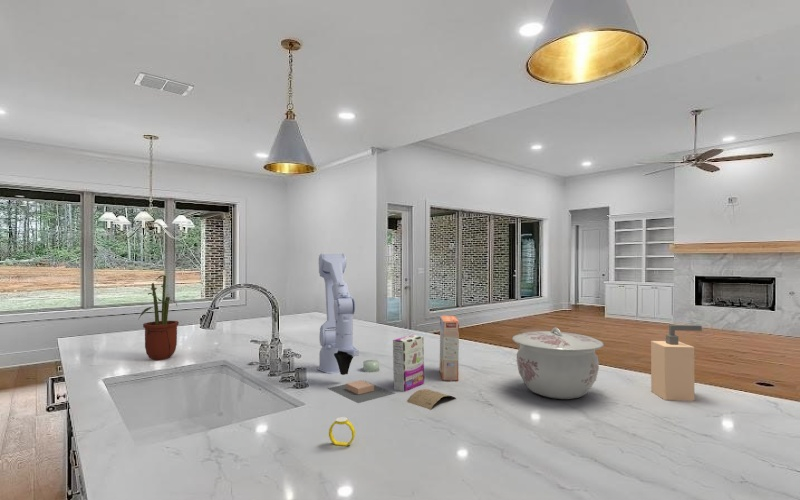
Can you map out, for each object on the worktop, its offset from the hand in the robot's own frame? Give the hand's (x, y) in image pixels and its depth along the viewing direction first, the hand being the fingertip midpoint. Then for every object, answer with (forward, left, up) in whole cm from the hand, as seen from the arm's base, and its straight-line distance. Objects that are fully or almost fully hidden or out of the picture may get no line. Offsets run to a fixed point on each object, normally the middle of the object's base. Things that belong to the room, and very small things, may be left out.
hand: (344, 374), depth 147 cm
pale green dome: (-8, +17, -4) cm, 19 cm away
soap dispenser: (+76, +74, -4) cm, 106 cm away
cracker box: (+15, +35, -4) cm, 38 cm away
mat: (+10, 0, -4) cm, 11 cm away
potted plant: (-81, -42, -4) cm, 91 cm away
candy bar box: (+16, +15, -4) cm, 22 cm away
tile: (+6, 0, -2) cm, 6 cm away
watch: (+39, -25, -4) cm, 46 cm away
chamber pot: (+50, +48, -4) cm, 69 cm away
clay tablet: (+30, +12, -4) cm, 33 cm away
